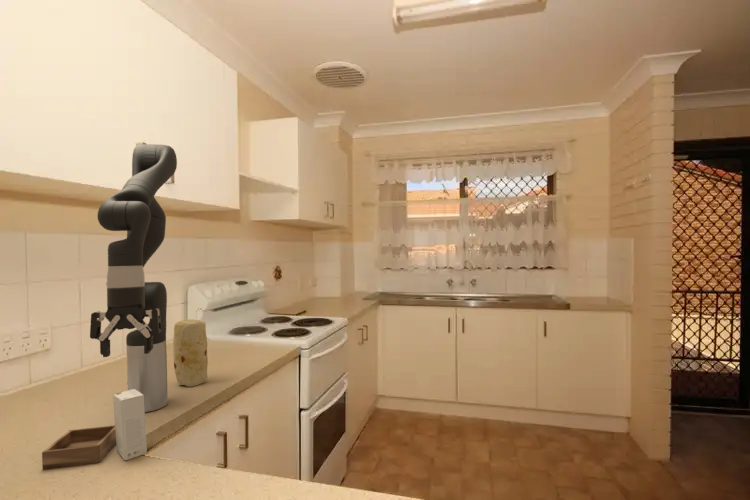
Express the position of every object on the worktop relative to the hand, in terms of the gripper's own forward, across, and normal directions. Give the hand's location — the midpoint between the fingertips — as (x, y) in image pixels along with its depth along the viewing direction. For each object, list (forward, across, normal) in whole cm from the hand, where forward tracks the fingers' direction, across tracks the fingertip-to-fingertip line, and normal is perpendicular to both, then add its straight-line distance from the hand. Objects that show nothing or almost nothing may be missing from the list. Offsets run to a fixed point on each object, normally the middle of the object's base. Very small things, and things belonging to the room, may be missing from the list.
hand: (127, 354), depth 93 cm
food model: (+16, -8, -30) cm, 35 cm away
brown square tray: (+18, +5, +10) cm, 21 cm away
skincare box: (+18, -4, +12) cm, 22 cm away
